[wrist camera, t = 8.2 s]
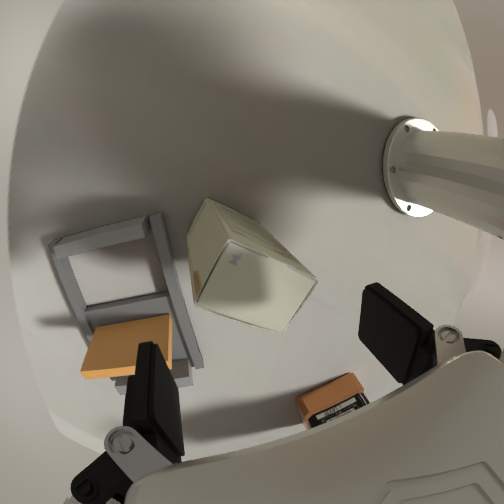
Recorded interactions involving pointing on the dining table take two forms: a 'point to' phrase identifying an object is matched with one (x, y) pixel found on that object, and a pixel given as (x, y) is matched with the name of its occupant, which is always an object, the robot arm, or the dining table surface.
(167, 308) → the grey shallow rectangular tray
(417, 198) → the robot arm
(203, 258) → the skincare box
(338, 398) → the whiskey bottle
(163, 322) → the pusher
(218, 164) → the dining table surface
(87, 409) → the dining table surface
